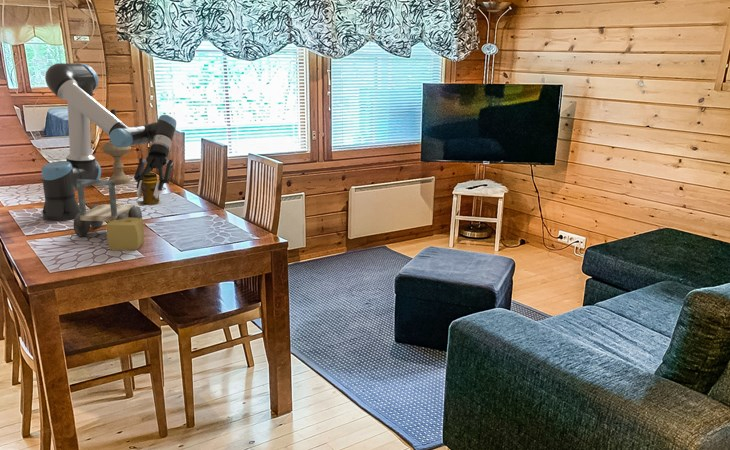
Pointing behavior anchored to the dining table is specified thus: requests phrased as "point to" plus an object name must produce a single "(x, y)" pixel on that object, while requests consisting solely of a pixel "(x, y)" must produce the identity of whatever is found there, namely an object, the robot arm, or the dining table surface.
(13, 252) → the dining table surface
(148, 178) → the condiment
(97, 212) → the trolley
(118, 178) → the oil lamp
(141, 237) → the cheese
